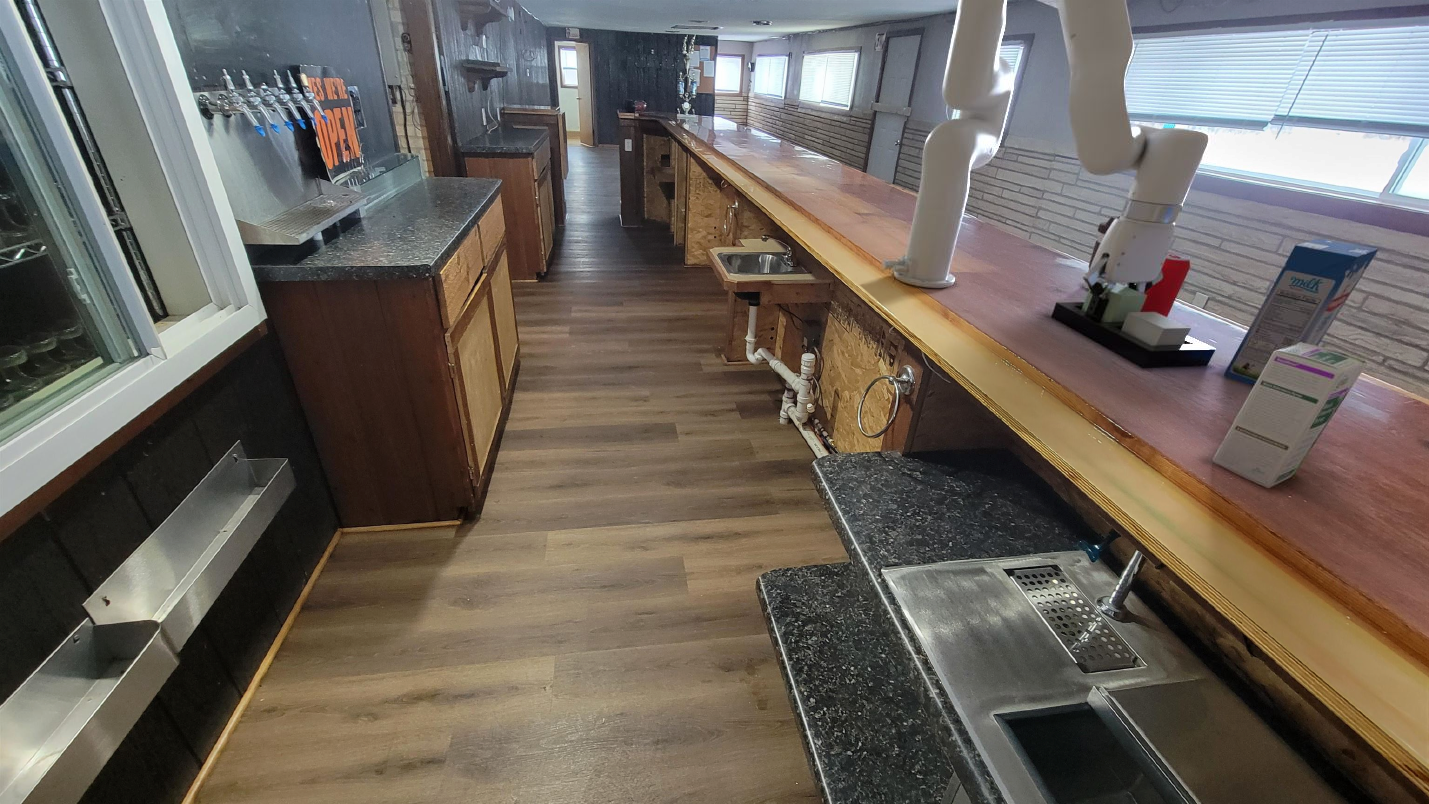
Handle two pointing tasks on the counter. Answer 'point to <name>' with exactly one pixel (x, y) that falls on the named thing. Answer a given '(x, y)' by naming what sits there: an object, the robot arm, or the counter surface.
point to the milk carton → (1300, 303)
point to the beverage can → (1167, 284)
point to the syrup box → (1287, 412)
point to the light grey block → (1155, 328)
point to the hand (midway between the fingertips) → (1107, 316)
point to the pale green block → (1119, 303)
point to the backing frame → (1131, 340)
